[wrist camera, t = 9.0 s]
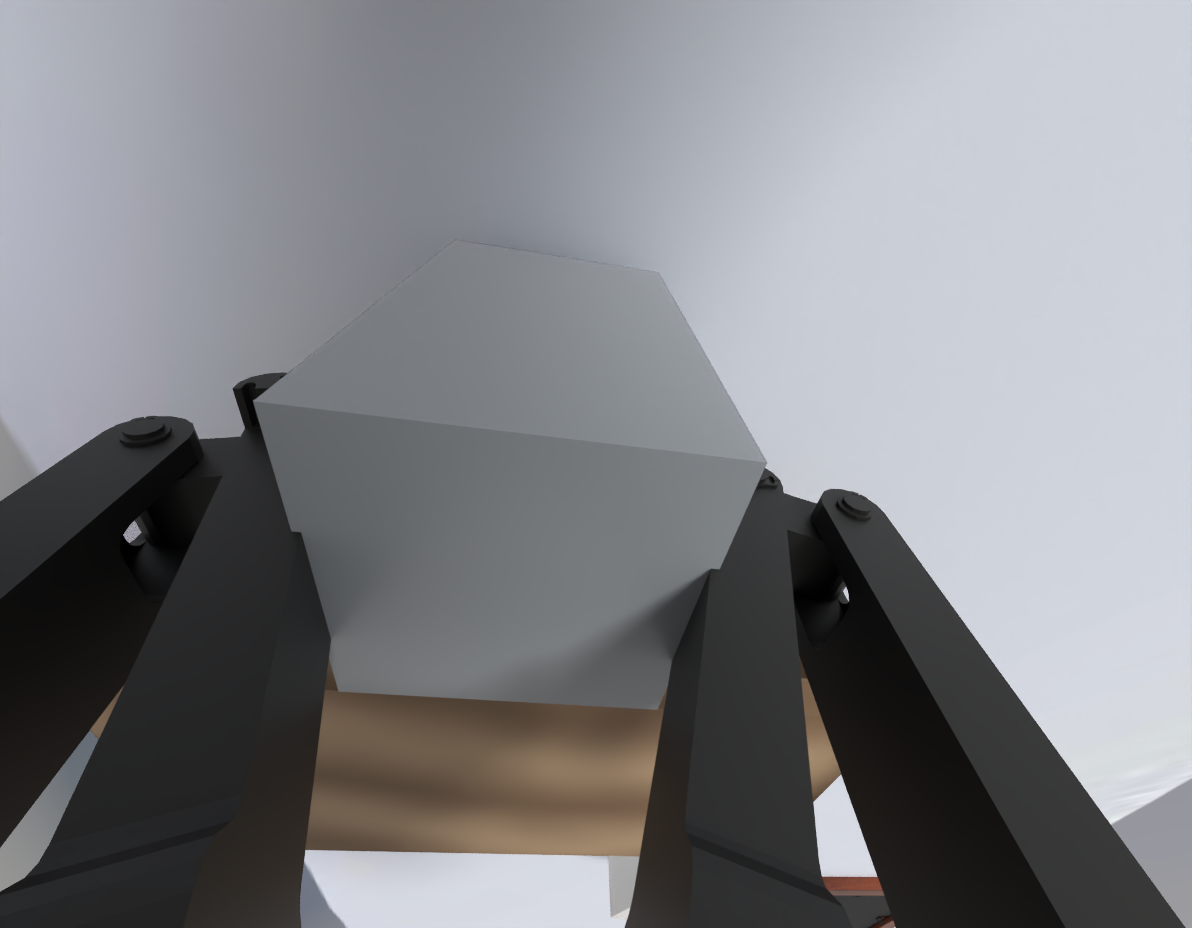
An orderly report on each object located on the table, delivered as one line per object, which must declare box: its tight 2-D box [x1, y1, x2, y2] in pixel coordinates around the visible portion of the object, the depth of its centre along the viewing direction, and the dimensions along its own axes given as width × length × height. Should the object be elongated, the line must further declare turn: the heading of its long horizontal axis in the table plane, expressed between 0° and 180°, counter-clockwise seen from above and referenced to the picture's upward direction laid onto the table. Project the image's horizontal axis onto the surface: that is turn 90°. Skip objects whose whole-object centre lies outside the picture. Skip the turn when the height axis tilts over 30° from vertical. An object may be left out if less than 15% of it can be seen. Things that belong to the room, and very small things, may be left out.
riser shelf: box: [90, 656, 841, 856], centre depth 20 cm, size 12×23×9 cm, turn 81°
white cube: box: [608, 856, 640, 919], centre depth 38 cm, size 6×6×6 cm
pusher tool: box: [253, 240, 767, 710], centre depth 14 cm, size 17×6×10 cm, turn 171°
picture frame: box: [822, 877, 895, 928], centre depth 58 cm, size 20×2×25 cm
